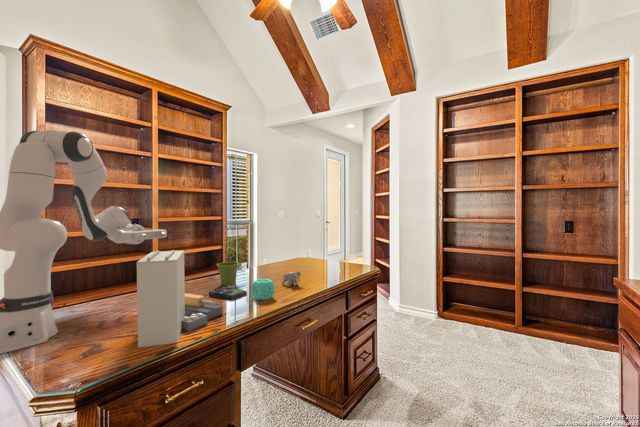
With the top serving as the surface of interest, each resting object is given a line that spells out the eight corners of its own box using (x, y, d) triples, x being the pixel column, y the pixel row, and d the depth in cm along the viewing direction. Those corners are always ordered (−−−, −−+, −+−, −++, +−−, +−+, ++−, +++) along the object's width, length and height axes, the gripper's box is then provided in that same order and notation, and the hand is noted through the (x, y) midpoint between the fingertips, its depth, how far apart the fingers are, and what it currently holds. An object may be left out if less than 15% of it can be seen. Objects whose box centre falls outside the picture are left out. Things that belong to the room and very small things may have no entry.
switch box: (189, 331, 106) (189, 320, 106) (179, 328, 108) (179, 317, 108) (207, 323, 113) (207, 313, 113) (197, 321, 116) (197, 310, 116)
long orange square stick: (223, 307, 122) (223, 298, 122) (216, 310, 119) (216, 301, 119) (169, 298, 134) (169, 290, 134) (162, 300, 131) (162, 292, 131)
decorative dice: (267, 294, 151) (267, 278, 151) (274, 298, 144) (274, 281, 144) (251, 297, 146) (251, 280, 146) (258, 301, 140) (258, 283, 140)
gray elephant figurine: (289, 283, 174) (288, 269, 174) (307, 284, 168) (306, 270, 168) (279, 287, 166) (278, 272, 166) (297, 288, 160) (297, 273, 160)
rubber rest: (206, 320, 116) (206, 312, 116) (170, 312, 125) (170, 304, 125) (222, 313, 123) (222, 306, 123) (187, 306, 132) (187, 299, 132)
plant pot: (232, 280, 179) (232, 260, 179) (243, 284, 170) (242, 263, 170) (213, 283, 171) (212, 263, 171) (222, 288, 163) (222, 266, 162)
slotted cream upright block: (177, 342, 97) (176, 256, 97) (137, 347, 94) (136, 258, 93) (184, 318, 118) (184, 247, 118) (152, 321, 115) (151, 249, 114)
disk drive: (208, 297, 148) (232, 301, 141) (208, 291, 148) (232, 295, 141) (224, 292, 157) (247, 295, 150) (224, 286, 157) (247, 289, 150)
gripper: (155, 239, 151) (175, 240, 144) (111, 243, 132) (131, 245, 126) (155, 226, 151) (175, 226, 144) (111, 228, 132) (131, 230, 126)
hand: (154, 235), depth 135 cm, fingers open, 8 cm apart
